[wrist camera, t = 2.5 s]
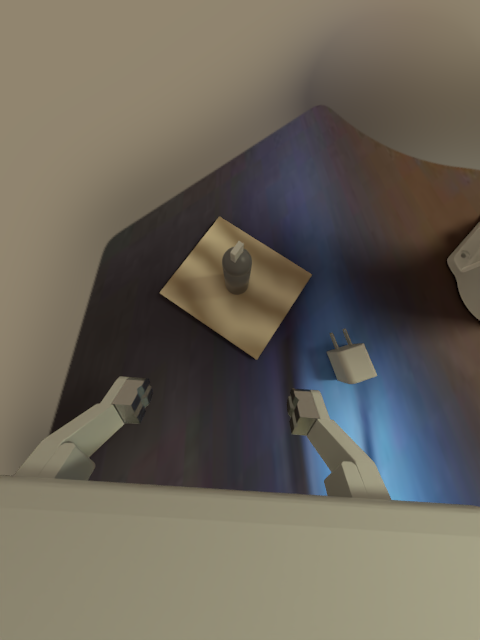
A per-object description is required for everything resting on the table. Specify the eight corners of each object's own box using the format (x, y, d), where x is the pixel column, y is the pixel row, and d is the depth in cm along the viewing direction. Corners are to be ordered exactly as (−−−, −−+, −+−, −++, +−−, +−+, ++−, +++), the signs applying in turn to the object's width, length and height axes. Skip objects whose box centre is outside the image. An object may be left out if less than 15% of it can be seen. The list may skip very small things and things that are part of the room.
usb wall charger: (335, 379, 28) (351, 384, 24) (318, 336, 29) (331, 333, 25) (359, 371, 28) (379, 374, 24) (342, 328, 29) (358, 324, 25)
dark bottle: (233, 268, 30) (232, 225, 20) (252, 280, 29) (261, 243, 19) (220, 286, 29) (212, 252, 19) (240, 299, 29) (241, 271, 19)
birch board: (219, 220, 32) (219, 216, 31) (309, 277, 31) (312, 274, 30) (161, 294, 30) (159, 292, 29) (256, 359, 28) (257, 359, 27)
